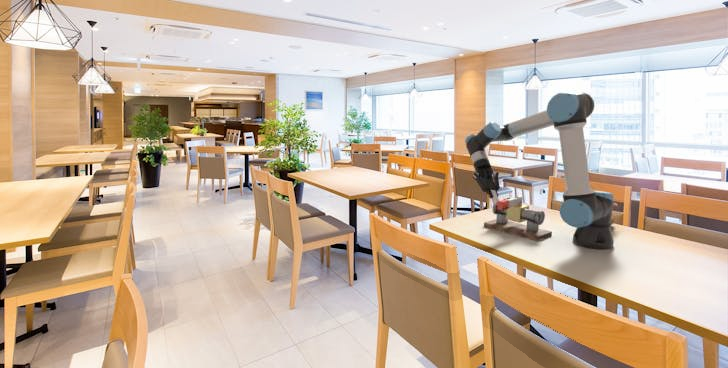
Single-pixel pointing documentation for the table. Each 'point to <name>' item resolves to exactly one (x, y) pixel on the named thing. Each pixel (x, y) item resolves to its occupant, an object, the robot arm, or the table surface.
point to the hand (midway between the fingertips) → (496, 203)
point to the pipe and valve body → (520, 216)
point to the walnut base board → (518, 230)
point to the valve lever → (510, 203)
